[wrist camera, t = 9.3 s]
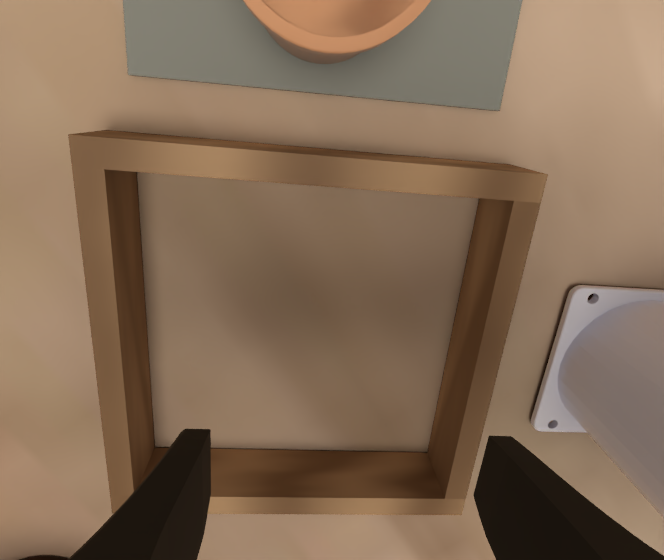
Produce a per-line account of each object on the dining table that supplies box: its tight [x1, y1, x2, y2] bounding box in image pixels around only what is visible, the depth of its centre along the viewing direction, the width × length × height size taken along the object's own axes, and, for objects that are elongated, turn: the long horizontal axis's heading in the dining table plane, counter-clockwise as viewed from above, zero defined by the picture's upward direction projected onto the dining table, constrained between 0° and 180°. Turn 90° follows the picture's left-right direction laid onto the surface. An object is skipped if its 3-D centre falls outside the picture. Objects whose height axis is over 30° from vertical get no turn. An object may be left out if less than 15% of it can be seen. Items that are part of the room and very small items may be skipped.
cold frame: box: [68, 130, 548, 515], centre depth 19 cm, size 16×16×3 cm
